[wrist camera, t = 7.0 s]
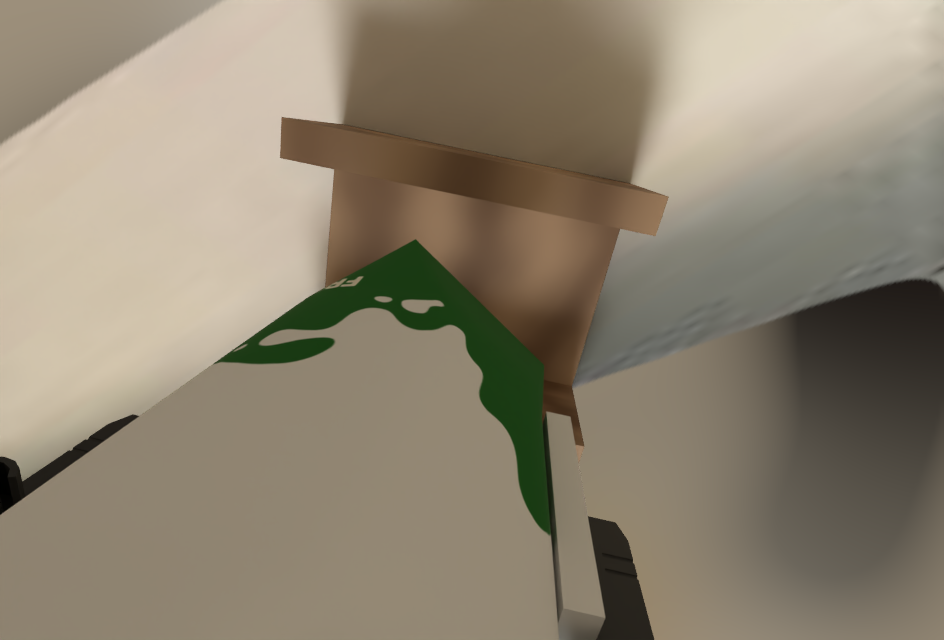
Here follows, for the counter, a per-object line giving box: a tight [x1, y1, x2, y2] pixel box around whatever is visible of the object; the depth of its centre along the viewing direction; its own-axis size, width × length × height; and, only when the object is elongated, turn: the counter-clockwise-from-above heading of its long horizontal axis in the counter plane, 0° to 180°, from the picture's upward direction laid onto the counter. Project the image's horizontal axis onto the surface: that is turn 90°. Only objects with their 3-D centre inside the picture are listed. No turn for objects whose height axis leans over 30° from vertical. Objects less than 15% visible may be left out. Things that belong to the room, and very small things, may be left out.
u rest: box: [280, 117, 668, 463], centre depth 28 cm, size 18×16×8 cm
